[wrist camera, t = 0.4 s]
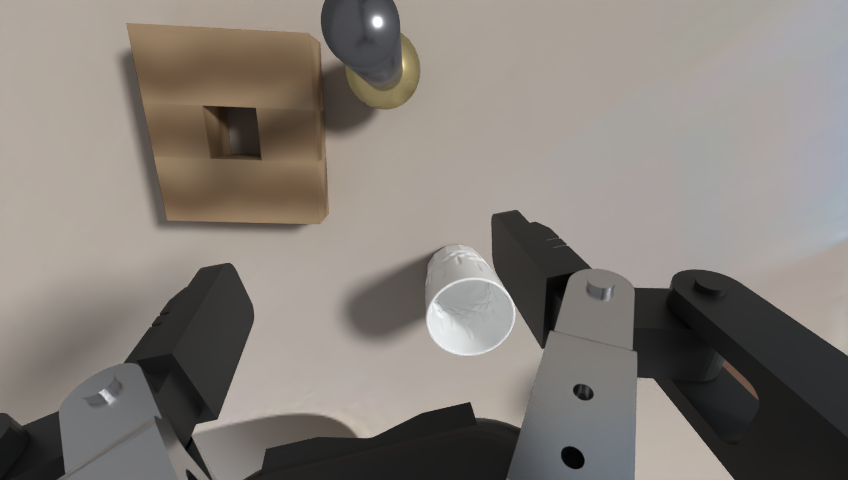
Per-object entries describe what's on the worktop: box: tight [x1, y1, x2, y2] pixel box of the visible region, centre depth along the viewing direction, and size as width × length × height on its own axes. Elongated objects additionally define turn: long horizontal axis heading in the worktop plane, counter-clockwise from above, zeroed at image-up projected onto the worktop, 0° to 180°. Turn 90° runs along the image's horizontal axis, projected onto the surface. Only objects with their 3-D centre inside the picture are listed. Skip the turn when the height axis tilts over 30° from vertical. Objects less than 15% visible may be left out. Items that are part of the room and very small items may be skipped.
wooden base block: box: [126, 23, 329, 224], centre depth 32 cm, size 16×14×4 cm
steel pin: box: [321, 0, 420, 110], centre depth 24 cm, size 6×6×20 cm
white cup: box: [425, 244, 515, 356], centre depth 36 cm, size 8×8×10 cm
